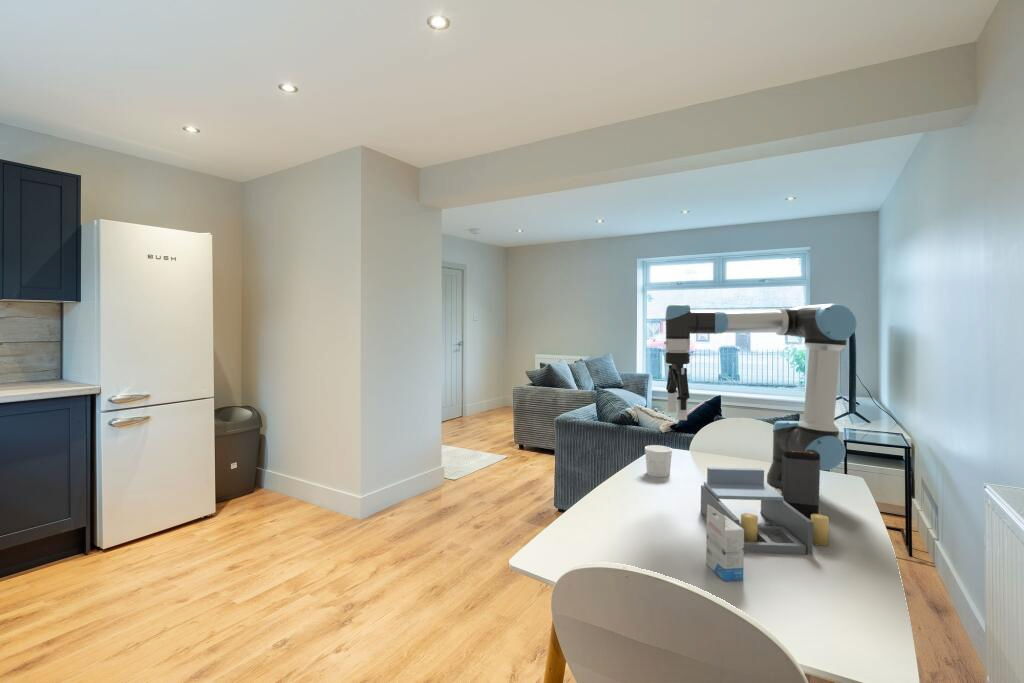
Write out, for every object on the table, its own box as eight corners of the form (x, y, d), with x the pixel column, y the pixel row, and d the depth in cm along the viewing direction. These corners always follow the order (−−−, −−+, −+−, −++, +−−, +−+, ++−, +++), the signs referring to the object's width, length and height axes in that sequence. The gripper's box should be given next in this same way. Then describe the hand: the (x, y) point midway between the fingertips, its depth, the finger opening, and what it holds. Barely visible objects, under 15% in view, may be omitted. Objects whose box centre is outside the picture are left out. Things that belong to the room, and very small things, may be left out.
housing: (764, 513, 148) (765, 486, 148) (812, 554, 122) (813, 522, 121) (700, 511, 150) (701, 485, 149) (733, 551, 123) (734, 519, 123)
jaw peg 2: (822, 539, 130) (823, 514, 130) (831, 546, 126) (832, 520, 126) (807, 539, 130) (807, 513, 130) (815, 545, 126) (816, 519, 126)
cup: (675, 478, 182) (675, 451, 182) (648, 477, 182) (648, 451, 182) (667, 470, 192) (667, 445, 192) (641, 469, 192) (642, 445, 192)
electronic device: (814, 514, 147) (816, 449, 147) (819, 522, 142) (821, 454, 141) (780, 510, 150) (781, 446, 150) (783, 517, 145) (785, 451, 144)
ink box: (744, 581, 109) (745, 516, 109) (723, 581, 109) (724, 517, 108) (724, 562, 118) (725, 502, 117) (705, 563, 117) (706, 503, 117)
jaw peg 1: (753, 538, 130) (753, 513, 130) (759, 545, 127) (760, 519, 126) (738, 538, 131) (738, 512, 131) (744, 545, 127) (744, 518, 127)
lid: (764, 486, 147) (764, 468, 147) (783, 500, 135) (783, 481, 135) (703, 484, 149) (704, 467, 148) (717, 498, 137) (717, 479, 136)
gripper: (657, 349, 172) (657, 409, 173) (675, 354, 147) (674, 423, 148) (679, 349, 171) (679, 409, 172) (700, 354, 147) (699, 423, 147)
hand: (676, 415), depth 160 cm, fingers open, 13 cm apart
